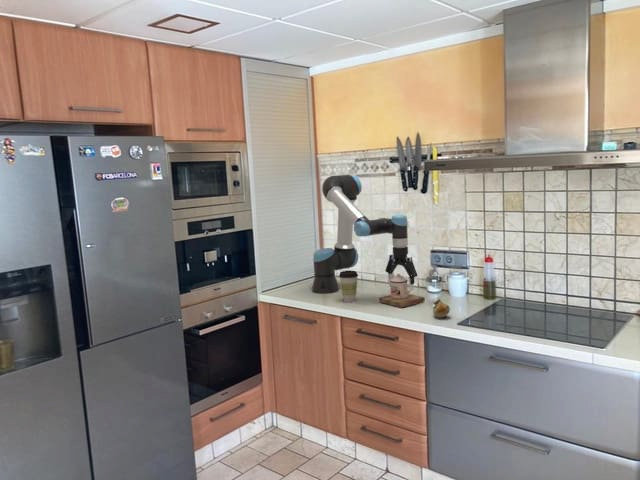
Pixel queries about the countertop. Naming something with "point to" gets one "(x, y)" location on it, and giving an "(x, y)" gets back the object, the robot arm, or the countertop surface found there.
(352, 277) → the coffee cup
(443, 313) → the onion
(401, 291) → the teacup with lid
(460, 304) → the countertop surface
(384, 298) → the walnut board
